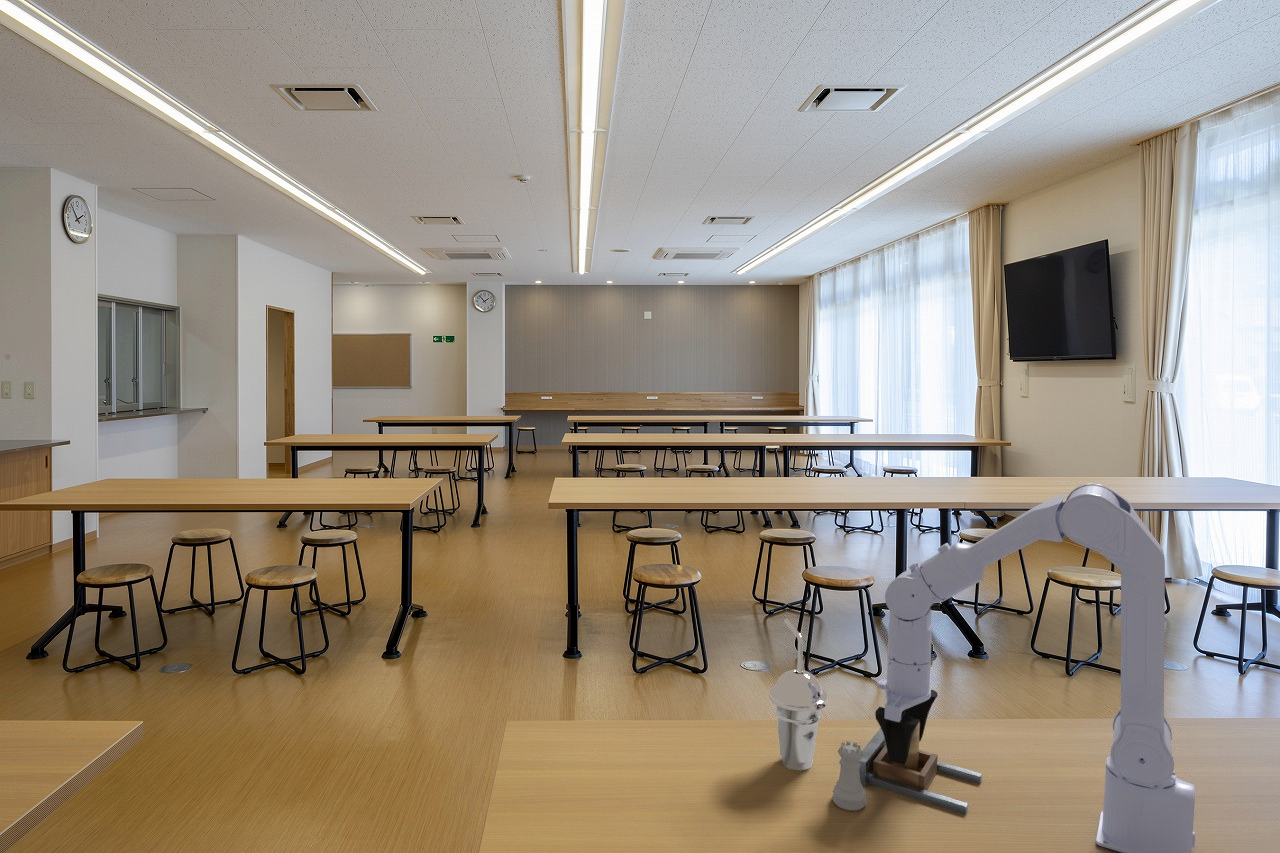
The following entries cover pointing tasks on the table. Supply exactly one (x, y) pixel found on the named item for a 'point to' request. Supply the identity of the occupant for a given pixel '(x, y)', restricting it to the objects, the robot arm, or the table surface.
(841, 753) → the rook chess piece
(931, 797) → the rail
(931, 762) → the walnut socket block
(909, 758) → the oak dowel
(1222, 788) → the table surface
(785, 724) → the cup with straw
